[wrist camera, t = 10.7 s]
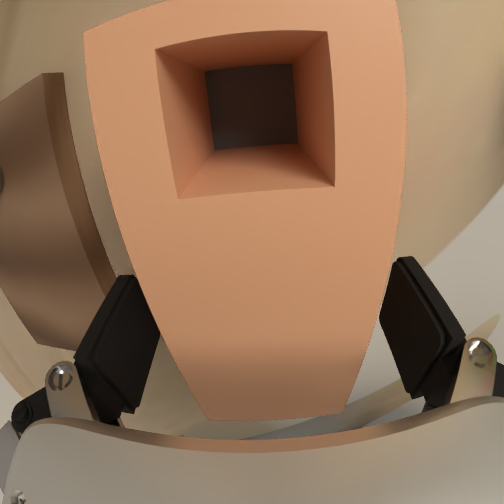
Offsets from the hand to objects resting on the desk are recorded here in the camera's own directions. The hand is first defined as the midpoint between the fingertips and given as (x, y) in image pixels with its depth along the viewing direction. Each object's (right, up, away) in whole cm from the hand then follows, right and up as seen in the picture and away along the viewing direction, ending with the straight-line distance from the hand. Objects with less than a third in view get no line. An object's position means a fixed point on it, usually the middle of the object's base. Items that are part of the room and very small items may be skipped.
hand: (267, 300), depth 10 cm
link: (0, +3, +1) cm, 3 cm away
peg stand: (-13, +2, +2) cm, 14 cm away
